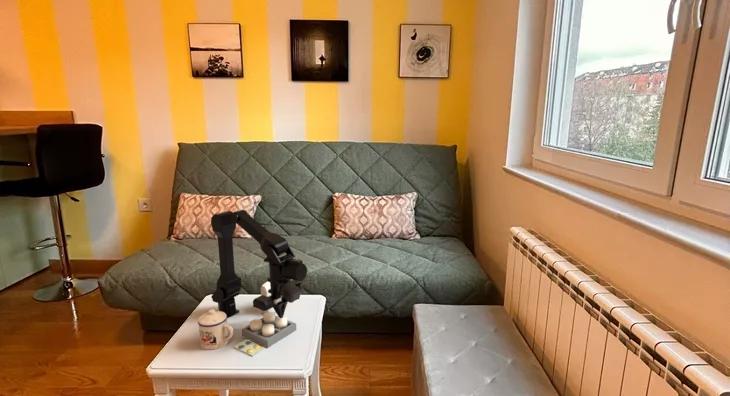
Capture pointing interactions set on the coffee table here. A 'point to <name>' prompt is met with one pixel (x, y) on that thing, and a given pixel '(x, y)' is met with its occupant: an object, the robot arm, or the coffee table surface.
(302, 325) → the coffee table surface
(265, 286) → the photo printer
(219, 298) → the robot arm
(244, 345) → the lights out board
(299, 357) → the coffee table surface
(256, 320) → the button
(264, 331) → the button
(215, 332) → the teacup with lid
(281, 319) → the button
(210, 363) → the coffee table surface
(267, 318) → the button
